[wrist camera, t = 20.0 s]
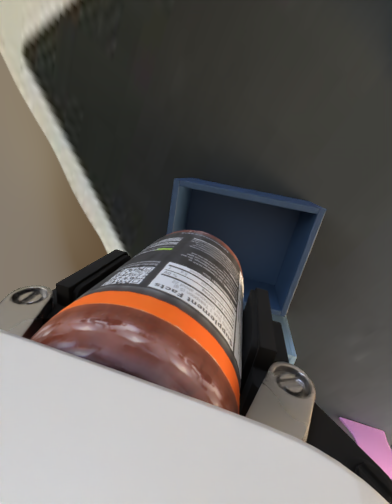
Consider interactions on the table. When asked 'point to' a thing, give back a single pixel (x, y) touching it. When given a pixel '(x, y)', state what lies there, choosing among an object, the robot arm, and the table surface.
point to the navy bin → (251, 232)
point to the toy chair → (372, 444)
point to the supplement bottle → (164, 319)
